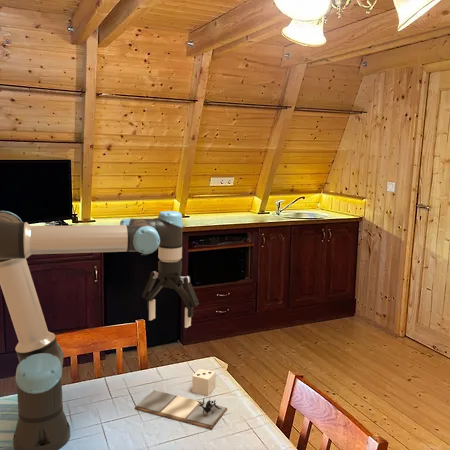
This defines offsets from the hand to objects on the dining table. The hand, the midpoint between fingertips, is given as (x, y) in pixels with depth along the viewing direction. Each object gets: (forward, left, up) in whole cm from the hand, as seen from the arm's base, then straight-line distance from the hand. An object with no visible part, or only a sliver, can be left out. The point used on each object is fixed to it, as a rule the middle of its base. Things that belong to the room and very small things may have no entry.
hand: (169, 322), depth 154 cm
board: (+7, -6, -26) cm, 27 cm away
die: (+9, +8, -26) cm, 29 cm away
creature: (+16, -4, -25) cm, 30 cm away
